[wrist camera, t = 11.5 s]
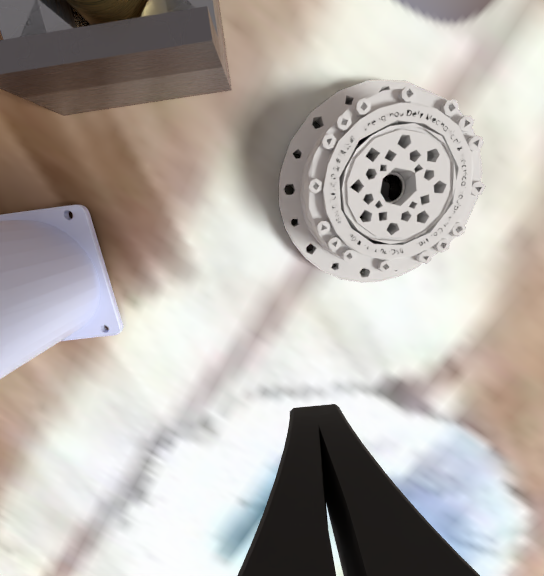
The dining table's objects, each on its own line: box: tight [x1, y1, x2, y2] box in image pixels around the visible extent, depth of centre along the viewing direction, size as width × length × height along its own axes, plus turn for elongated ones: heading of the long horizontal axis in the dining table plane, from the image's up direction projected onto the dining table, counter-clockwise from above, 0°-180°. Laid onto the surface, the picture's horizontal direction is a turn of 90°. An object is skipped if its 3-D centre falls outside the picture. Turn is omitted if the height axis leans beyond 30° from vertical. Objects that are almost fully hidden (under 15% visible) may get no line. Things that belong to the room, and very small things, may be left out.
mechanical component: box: [279, 80, 486, 282], centre depth 14 cm, size 10×4×10 cm
